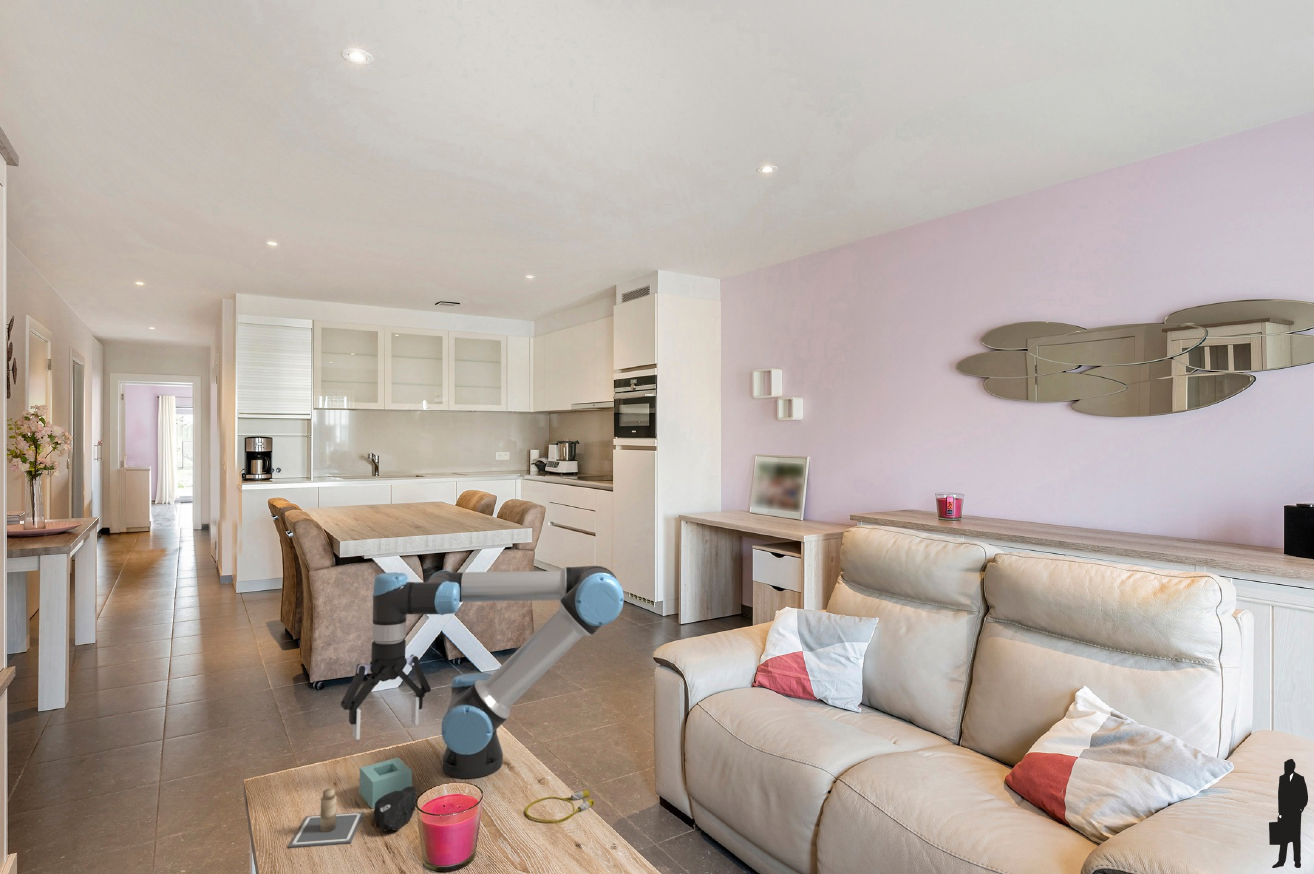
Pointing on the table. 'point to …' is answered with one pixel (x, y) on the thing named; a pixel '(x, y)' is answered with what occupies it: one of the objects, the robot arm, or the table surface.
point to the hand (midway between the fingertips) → (386, 730)
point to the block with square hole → (383, 779)
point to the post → (328, 811)
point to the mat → (314, 837)
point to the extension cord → (579, 795)
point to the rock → (395, 809)
